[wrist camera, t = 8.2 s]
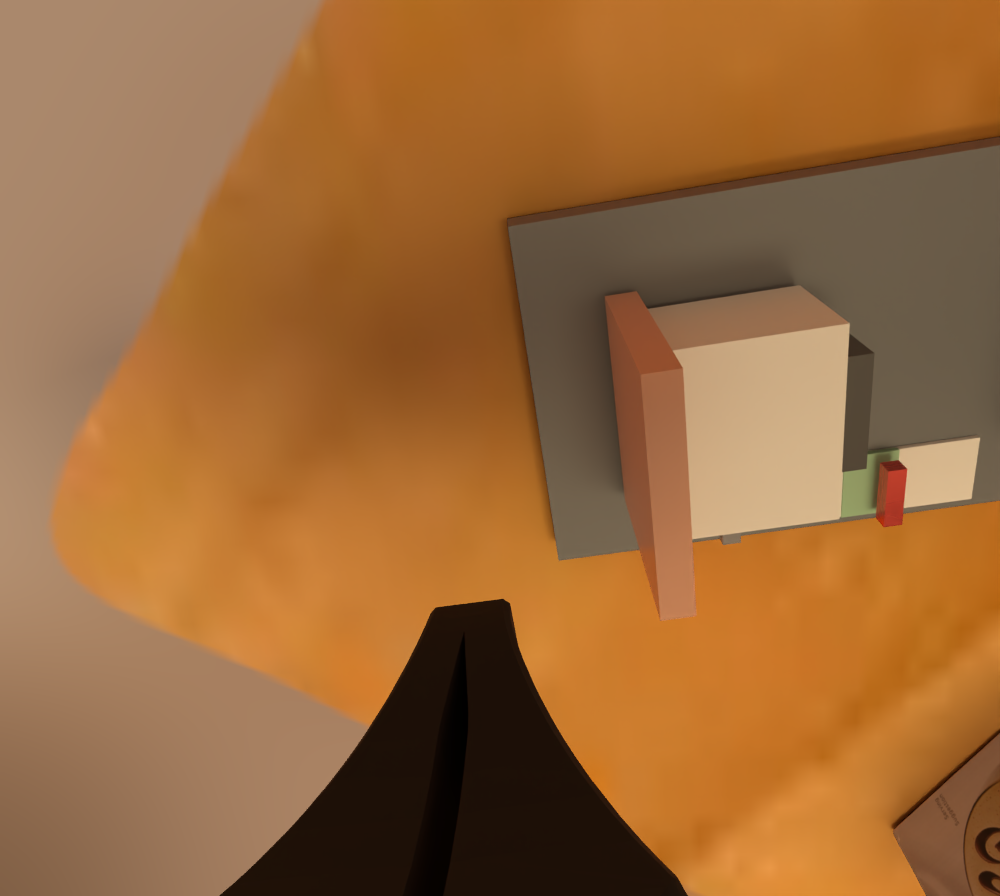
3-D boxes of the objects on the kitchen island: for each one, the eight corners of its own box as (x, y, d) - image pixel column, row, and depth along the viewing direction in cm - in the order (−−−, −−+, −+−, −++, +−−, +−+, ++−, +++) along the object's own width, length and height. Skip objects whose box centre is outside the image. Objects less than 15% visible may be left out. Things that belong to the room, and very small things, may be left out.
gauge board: (1186, 105, 18) (1470, 127, 13) (1103, 466, 23) (1288, 592, 18) (507, 219, 19) (512, 281, 14) (556, 541, 24) (574, 681, 19)
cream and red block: (833, 259, 19) (945, 328, 14) (822, 516, 22) (910, 639, 17) (604, 296, 19) (640, 374, 14) (629, 543, 22) (664, 670, 18)
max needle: (898, 460, 21) (907, 468, 21) (893, 515, 22) (901, 524, 21) (879, 462, 21) (888, 471, 21) (875, 517, 22) (883, 527, 21)
